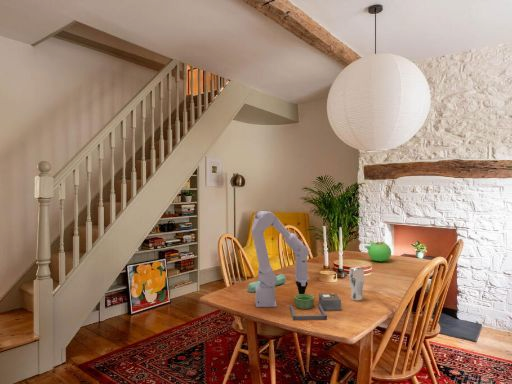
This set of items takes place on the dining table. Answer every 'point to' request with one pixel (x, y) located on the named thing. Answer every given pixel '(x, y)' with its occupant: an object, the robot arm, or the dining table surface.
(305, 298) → the ramekin
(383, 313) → the dining table surface
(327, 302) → the box
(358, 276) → the beer glass
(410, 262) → the dining table surface
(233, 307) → the dining table surface
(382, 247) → the green round body
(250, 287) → the teal cylinder
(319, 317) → the frame
